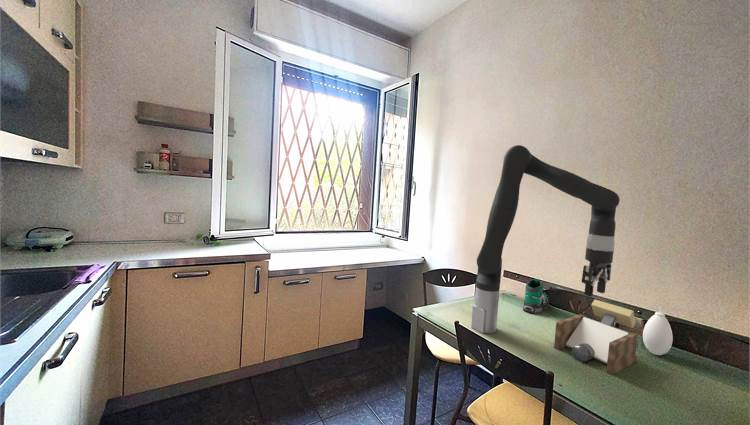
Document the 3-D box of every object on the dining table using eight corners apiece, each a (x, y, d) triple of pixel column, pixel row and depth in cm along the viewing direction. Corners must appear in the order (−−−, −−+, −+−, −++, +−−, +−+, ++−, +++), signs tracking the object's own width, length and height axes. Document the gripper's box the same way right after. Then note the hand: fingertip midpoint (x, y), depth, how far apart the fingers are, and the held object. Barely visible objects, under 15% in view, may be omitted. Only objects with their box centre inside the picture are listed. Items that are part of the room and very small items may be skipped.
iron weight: (593, 361, 101) (586, 365, 98) (578, 353, 105) (570, 357, 103) (595, 347, 100) (588, 351, 98) (579, 340, 104) (572, 343, 102)
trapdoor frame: (611, 375, 93) (614, 344, 92) (554, 347, 109) (556, 321, 108) (637, 360, 102) (640, 332, 102) (580, 337, 118) (583, 313, 117)
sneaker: (553, 305, 154) (556, 276, 153) (536, 316, 138) (539, 285, 137) (534, 299, 160) (537, 272, 159) (516, 309, 145) (518, 280, 144)
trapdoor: (613, 370, 97) (609, 359, 95) (567, 349, 110) (563, 339, 108) (640, 323, 105) (637, 311, 103) (594, 308, 118) (591, 298, 116)
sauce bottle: (671, 355, 107) (677, 307, 106) (669, 362, 102) (675, 312, 101) (642, 345, 113) (647, 300, 112) (639, 352, 108) (644, 305, 107)
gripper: (597, 245, 107) (592, 288, 108) (576, 246, 100) (571, 293, 101) (622, 249, 101) (617, 295, 102) (602, 251, 94) (596, 300, 95)
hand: (594, 294), depth 102 cm, fingers open, 8 cm apart
